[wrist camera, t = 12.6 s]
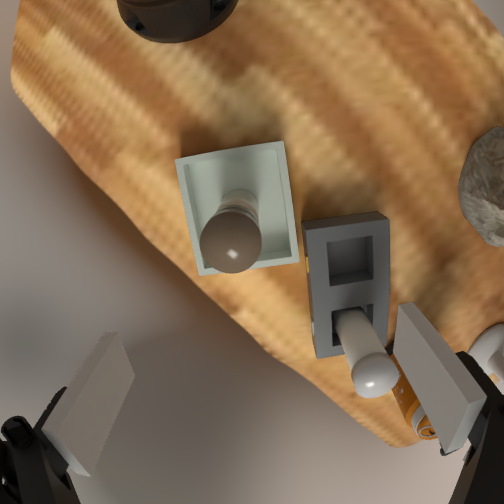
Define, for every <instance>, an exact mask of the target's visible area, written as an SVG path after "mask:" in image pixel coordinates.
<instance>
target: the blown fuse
mask: <svg viewBox="0 0 504 504" xmlns="http://www.w3.org/2000/svg"><path fill="white" fill-rule="evenodd" d="M261 248H262V236H261V230H260V227H259V205H258V201H257V199H256V197H255V196H254V195H253V194H252V193H251V192H249V191H247V190H245V189H235V190H232V191H230V192H229V193H228V194H226V196H225V197H224V199H223V200H222V202H221V204H220V206H219V207H218V209H217V211H216V213H215V214H214V215H213V216H212V217H211V218H210V219H209V220H208V222H207V224H206V225H205V227H204V229H203V230H202V233H201V236H200V250H201V253H202V256H203V258H204V259H205V261H206V262H207V263H208V264H209V265H210V266H211V267H213V268H214V269H216V270H218V271H220V272H224V273H239V272H242V271H245V270H247V269H248V268H250V267H251V266H252V265H253V264H254V263H255V262H256V261H257V259H258V258H259V256H260V253H261Z"/></svg>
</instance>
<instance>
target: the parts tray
mask: <svg viewBox="0 0 504 504" xmlns="http://www.w3.org/2000/svg"><path fill="white" fill-rule="evenodd" d="M175 164H176V169H177V175H178V180H179V185H180V190H181V195H182V200H183V205H184V209H185V214H186V219H187V223H188V228H189V233H190V237H191V242H192V246H193V251H194V255H195V259H196V264H197V268H198V272H199V276H203V275H210V274H218V273H224V272H220V271H218V270H216V269H214V268H213V267H211V266H210V265H209V264H208V263H207V262H206V261H205V259H204V258H203V256H202V253H201V250H200V236H201V233H202V230H203V229H204V227H205V225H206V224H207V222H208V220H209V219H210V218H211V217H212V216H213V215H214V214H215V213H216V211H217V209H218V207H219V206H220V204H221V202H222V200H223V199H224V197H225V196H226V194H228V193H229V192H230V191H232V190H235V189H245V190H247V191H249V192H251V193H252V194H253V195H254V196H255V197H256V199H257V201H258V205H259V227H260V230H261V236H262V248H261V253H260V256H259V258H258V259H257V261H256V262H255V263H254V264H253V265H252V266H251V267H250V268H248V269H254V268H261V267H268V266H275V265H282V264H289V263H296V262H299V253H298V245H297V236H296V228H295V220H294V212H293V205H292V197H291V190H290V182H289V175H288V168H287V162H286V155H285V148H284V142H283V141H276V142H269V143H262V144H255V145H249V146H243V147H236V148H230V149H225V150H219V151H214V152H208V153H203V154H198V155H193V156H188V157H183V158H179V159H175Z"/></svg>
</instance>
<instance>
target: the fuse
mask: <svg viewBox="0 0 504 504" xmlns="http://www.w3.org/2000/svg"><path fill="white" fill-rule="evenodd" d="M332 320H333V323H334V325H335V328H336V331H337V333H338V336H339V339H340V342H341V344H342V347H343V350H344V352H345V355H346V358H347V361H348V364H349V366H350V369H351V377H352V380H353V383H354V386H355V389H356V392H357V393H358V394H359V395H360V396H362V397H365V398H375V397H379V396H381V395H384V394H385V393H387V392H389V391H390V390H391V389H392V388H393V387H394V386H395V385H396V383H397V381H398V378H399V371H398V369H397V367H396V365H395V363H394V362H393V360H392V358H391V357H390V356H389V355H388V354H387V352H386V350H385V349H384V347H383V345H382V343H381V341H380V339H379V337H378V336H377V334H376V332H375V330H374V328H373V326H372V325H371V323H370V321H369V319H368V317H367V316H366V314H365V312H364V310H363V308H362V307H361V306H357V307H352V308H346V309H340V310H334V311H333V312H332Z"/></svg>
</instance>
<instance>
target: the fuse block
mask: <svg viewBox="0 0 504 504" xmlns="http://www.w3.org/2000/svg"><path fill="white" fill-rule="evenodd" d="M301 226H302V235H303V243H304V252H305V263H306V271H307V281H308V292H309V303H310V314H311V328H312V339H313V345H314V349H315V354H316V358H317V359H320V358H326V357H332V356H337V355H343V354H345V352H344V350H343V347H342V344H341V342H340V339H339V336H338V333H337V331H336V328H335V325H334V323H333V320H332V312H333V311H334V310H340V309H346V308H352V307H357V306H361V307H362V308H363V310H364V312H365V314H366V316H367V317H368V319H369V321H370V323H371V325H372V326H373V328H374V330H375V332H376V334H377V336H378V337H379V339H380V341H381V343H382V345H383V346H386V344H387V331H388V315H389V292H390V225H389V218H387V217H386V216H384V215H383V214H381V213H379V212H378V211H376V212H368V213H360V214H352V215H345V216H337V217H330V218H323V219H315V220H308V221H301Z"/></svg>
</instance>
